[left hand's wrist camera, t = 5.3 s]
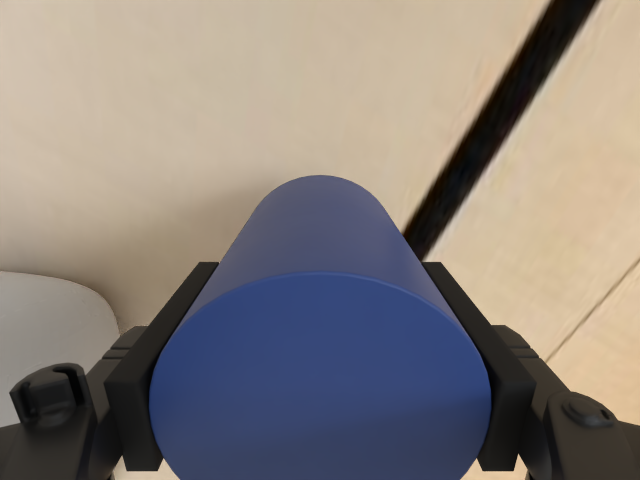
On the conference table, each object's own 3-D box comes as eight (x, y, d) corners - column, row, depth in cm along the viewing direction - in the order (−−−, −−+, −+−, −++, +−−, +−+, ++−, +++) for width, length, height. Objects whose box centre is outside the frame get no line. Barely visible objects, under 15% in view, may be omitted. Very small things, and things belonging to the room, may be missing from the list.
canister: (398, 307, 20) (486, 524, 9) (259, 322, 20) (195, 547, 10) (391, 165, 17) (502, 249, 7) (230, 185, 17) (97, 295, 7)
